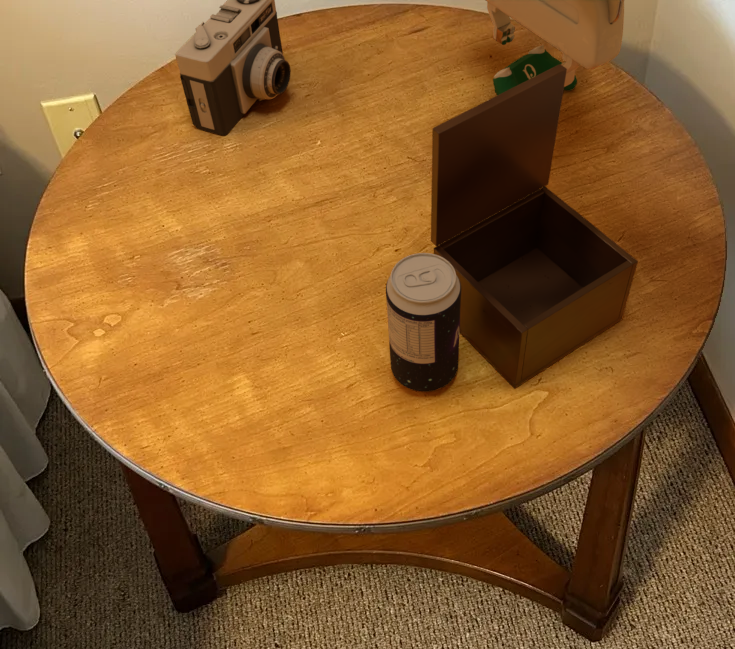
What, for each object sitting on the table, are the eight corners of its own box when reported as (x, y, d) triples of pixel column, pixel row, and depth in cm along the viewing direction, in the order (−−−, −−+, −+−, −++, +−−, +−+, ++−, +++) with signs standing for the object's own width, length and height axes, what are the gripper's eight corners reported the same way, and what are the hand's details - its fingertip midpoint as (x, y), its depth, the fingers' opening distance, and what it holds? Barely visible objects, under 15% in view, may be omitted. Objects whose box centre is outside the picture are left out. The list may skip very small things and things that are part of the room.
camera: (254, 146, 93) (238, 67, 86) (190, 128, 96) (169, 49, 88) (315, 72, 101) (305, -7, 93) (254, 57, 103) (239, -21, 96)
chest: (622, 319, 76) (638, 260, 70) (514, 388, 72) (521, 333, 66) (536, 245, 82) (544, 185, 76) (433, 305, 78) (433, 247, 72)
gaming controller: (561, 93, 99) (535, 46, 97) (583, 82, 95) (556, 33, 94) (506, 131, 95) (479, 83, 94) (527, 122, 92) (499, 72, 90)
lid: (567, 68, 66) (560, 63, 66) (438, 133, 62) (432, 127, 62) (548, 184, 75) (542, 179, 76) (436, 246, 72) (430, 241, 72)
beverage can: (464, 391, 72) (469, 299, 63) (397, 403, 72) (392, 311, 62) (449, 338, 76) (452, 243, 66) (385, 349, 75) (379, 255, 66)
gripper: (652, -31, 77) (624, 97, 88) (502, -115, 88) (494, 8, 99) (599, -6, 75) (577, 122, 86) (453, -95, 86) (450, 29, 97)
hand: (532, 60), depth 92 cm, fingers open, 8 cm apart
